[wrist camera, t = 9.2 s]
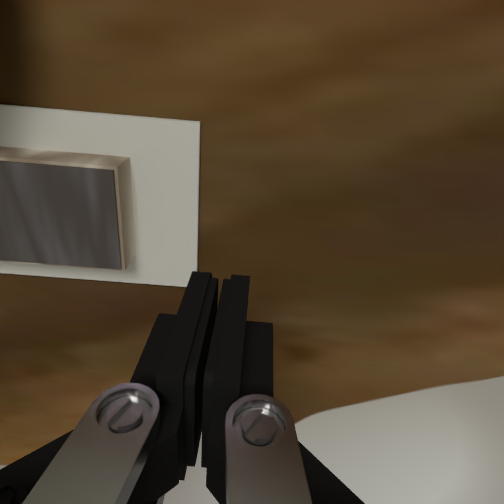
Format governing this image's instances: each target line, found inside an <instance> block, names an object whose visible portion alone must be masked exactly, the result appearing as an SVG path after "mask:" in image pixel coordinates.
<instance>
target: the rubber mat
mask: <svg viewBox="0 0 504 504" xmlns="http://www.w3.org/2000/svg"><path fill="white" fill-rule="evenodd" d="M0 146H4V147H16V148H28V149H40V150H52V151H64V152H76V153H88V154H100V155H112V156H124V157H130V169H131V186H132V202H133V218H134V235H135V251H136V254H135V256H134V257H133V259H132V261H131V262H130V264H129V265H128V267H127V269H126V270H125V271H120V270H107V269H94V268H81V267H67V266H54V265H41V264H28V263H15V262H2V261H0V273H8V274H21V275H34V276H48V277H61V278H74V279H87V280H101V281H114V282H127V283H141V284H154V285H167V286H180V287H187V284H188V282H189V279H190V276H191V273H192V271H197V268H198V218H199V169H200V121H189V120H178V119H166V118H155V117H143V116H131V115H120V114H108V113H97V112H85V111H74V110H62V109H51V108H39V107H28V106H16V105H5V104H0Z"/></svg>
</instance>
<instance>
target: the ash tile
mask: <svg viewBox="0 0 504 504" xmlns="http://www.w3.org/2000/svg"><path fill="white" fill-rule="evenodd" d="M135 254H136V251H135V235H134V218H133V202H132V186H131V169H130V157H124V156H112V155H100V154H88V153H76V152H64V151H52V150H40V149H28V148H16V147H4V146H0V261H2V262H15V263H28V264H41V265H54V266H67V267H81V268H94V269H107V270H120V271H125V270H126V269H127V267H128V265H129V264H130V262H131V261H132V259H133V257H134V256H135Z"/></svg>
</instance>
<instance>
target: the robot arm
mask: <svg viewBox="0 0 504 504" xmlns="http://www.w3.org/2000/svg"><path fill="white" fill-rule="evenodd" d="M249 283H250V276H242V275H231V279H224V280H223V285H222V290H221V295H220V299H219V304H218V309H217V302H218V278H212V274H211V273H209V272H197V271H192V273H191V276H190V279H189V282H188V284H187V287H186V290H185V293H184V296H183V299H182V302H181V304H180V307H179V310H178V313H177V315H174V314H163V313H160V314H159V315H158V317H157V319H156V321H155V324H154V326H153V328H152V331H151V333H150V335H149V338H148V340H147V343H146V345H145V347H144V350H143V352H142V355H141V357H140V359H139V362H138V364H137V366H136V369H135V371H134V374H133V376H132V378H131V381H130V383H125V384H119V385H116V386H114V387H111V388H109V389H107V390H106V391H104V392H103V393H101V394H100V395H99V396H98V397H97V398H96V399H95V400H94V401H93V402H92V404H91V405H90V407H89V408H88V410H87V411H86V413H85V414H84V415H83V417H82V418H81V420H80V421H79V423H78V424H77V425H76V427H75V428H74V430H72V431H70V432H68V433H66V434H65V435H63V436H61V437H59V438H57V439H56V440H54V441H52V442H50V443H48V444H46V445H45V446H43V447H41V448H39V449H37V450H35V451H34V452H32V453H30V454H28V455H26V456H24V457H23V458H21V459H19V460H17V461H15V462H13V463H12V464H10V465H8V466H6V467H4V468H2V469H1V470H0V504H163V500H164V496H165V493H167V492H168V491H170V490H171V489H172V488H173V487H175V486H176V485H177V484H178V483H179V480H184V478H185V473H186V469H187V466H195V463H196V459H197V453H198V448H199V441H200V437H201V431H202V461H201V463H202V464H201V467H206V468H207V477H206V487H207V488H208V489H209V491H210V492H211V493H212V494H213V496H214V497H215V498H216V500H217V501H218V502H219V504H364V502H362V501H361V500H360V499H359V498H358V497H357V496H356V495H355V494H354V493H353V492H352V491H351V490H350V489H349V488H347V486H345V485H344V484H343V483H342V482H341V481H340V480H339V479H338V478H337V477H336V476H335V475H334V474H333V473H332V472H330V470H329V469H328V468H326V467H325V466H324V465H323V464H322V463H321V462H320V461H319V460H318V459H317V458H316V457H315V456H314V455H313V454H312V453H311V452H309V451H308V450H307V449H306V448H305V447H304V446H303V445H302V444H301V443H300V442H299V441H298V439H297V435H296V431H295V426H294V421H293V419H292V416H291V414H290V411H289V410H288V409H287V408H286V407H285V405H284V404H283V403H281V402H280V401H278V400H277V399H275V398H273V323H265V322H253V321H246V317H247V306H248V294H249Z"/></svg>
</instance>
